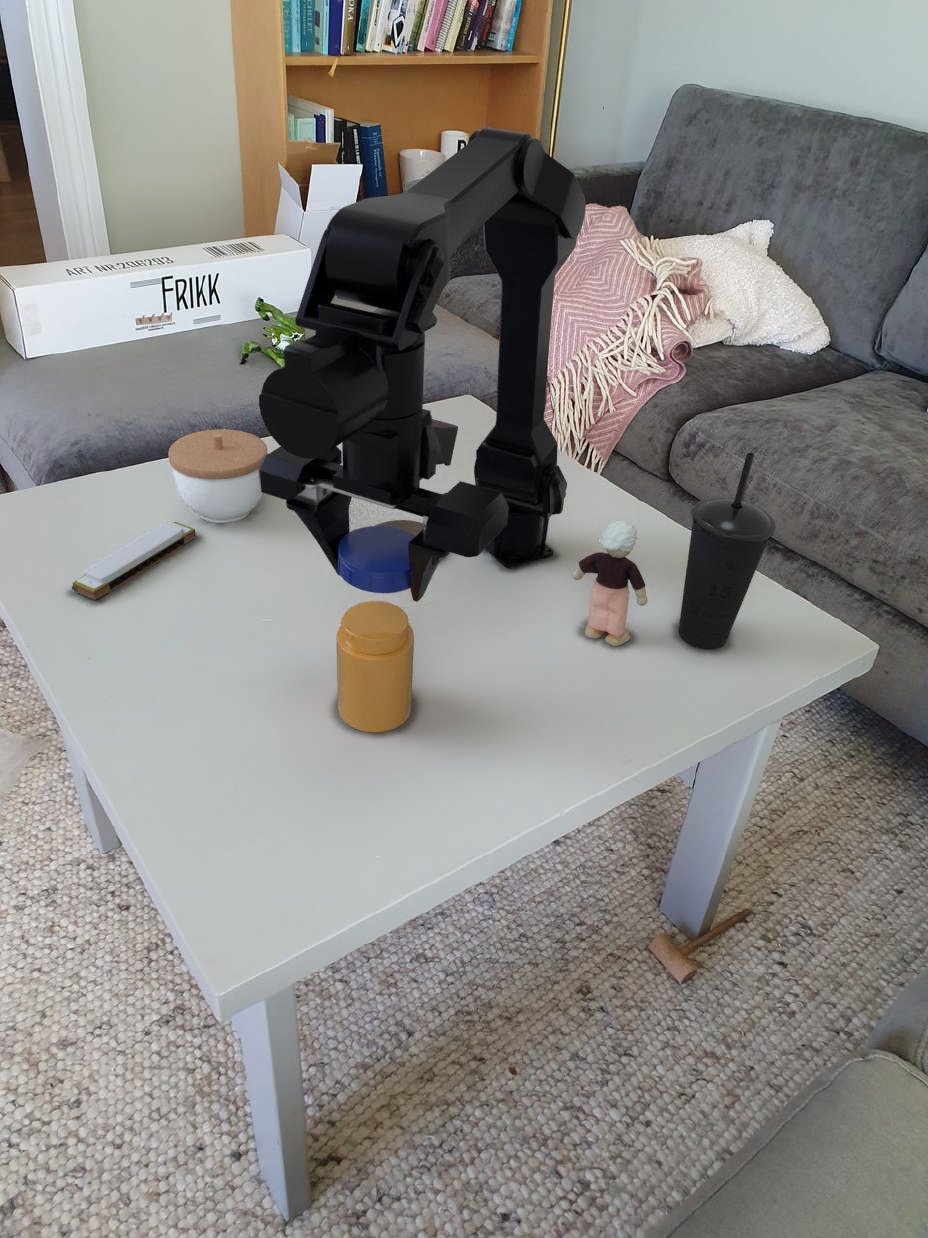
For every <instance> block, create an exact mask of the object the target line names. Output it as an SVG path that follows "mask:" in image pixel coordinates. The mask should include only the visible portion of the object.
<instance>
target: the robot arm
mask: <svg viewBox="0 0 928 1238" xmlns="http://www.w3.org/2000/svg"><path fill="white" fill-rule="evenodd" d="M586 203H587V202H586V197H585V194H584V192H583V190H582V187H581V185H580V183H579V181H578V178H577V177H576V175H575V174H574V173H573V172H572V171H571V170H570V169H568V168H567V167H566V166H564V165H563V164H562V163H560V162H559V161H558V160H556V159H555V158H553V157H552V156H551V155H550V154H548V153H547V152H546V151H545V148H544V147H543V145H542V143H541V140H540V139H539V138H537V137H533V135H531V133H529V132H523V131H516V130H509V129H502V128H496V127H495V128H494V127H488V126H486V127H483V128H482V129H476V130H473V132H472V133H471V134H470V136H469V139H468V141H467V144H466V145H464V146H463V147H462V148H460V149H459V150H458V151H457V152H455V153H454V154H452V155H451V156H450V157H449V158H447V160H445V161H444V162H442V163H441V164H440V165H438V166H437V167H436V168H435V169H433V170H432V171H431V172H430V173H428V174H427V175H426V176H424V177H423V178H422V179H420V180H419V181H418V182H417V183H415V184H414V185H413V186H412V187H410V188H409V189H408V190H407V191H404V192H401V193H399V194H393V195H385V196H384V195H383V196H377V197H376V196H373V197H366V198H364V199H361V200H358V201H356V202H353V203H350V204H349V205H345V206H343V207H341V208H340V209H338V211H337V212H336V213H335V214H334V215H333V216H332V217H331V218H330V220H329V221H328V224H327V226H326V228H325V229H324V232H323V233H322V236H321V239H320V242H319V245H318V247H317V251H316V253H315V258H314V261H313V263H312V266H311V269H310V272H309V276H308V279H307V282H306V285H305V288H304V291H303V294H302V298H301V300H300V304H299V306H298V309H297V313H296V316H295V320H294V321H295V325H296V327H298V328H303V329H306V330H311V331H315V334H314V335H312V336H310V337H308V338H305V339H303V340H295V341H293V342H291V343H289V344H287V345H285V346H284V349H283V360H284V361H283V365H282V366H281V367H278V368H276V369H274V370H273V371H272V372H271V373H270V374H269V375H268V376H267V377H266V379H265V381H263V384H262V389H261V391H260V394H259V395H258V408H259V411H260V417H261V419H262V421H263V424H264V426H265V428H266V430H267V431H268V433H269V435H270V436H271V437H272V439H273V440H274V441H275V442H276V443H277V444H278V446H279V447H277V448H275V449H274V450H272V451H271V452H269V453H268V455H266V456H265V457H264V458H263V459H262V461H261V464H260V466H259V469H258V470H259V483H260V489H261V492H262V493H264V494H265V495H269V496H271V497H275V498H278V499H281V500H284V501H285V506H286V508H287V509H288V510H290V511H293V512H294V513H295V514H296V515H297V516H298V517H299V519H300V521H301V522H302V523H303V524H304V526H305V528H307V530H308V532H310V534H311V535H312V537H313V539H314V540H315V541H316V542H317V544H318V545H319V547H320V549H321V550H322V552H323V553H324V555H325V557H326V558H327V560H328V561H329V563H330V565H331V566H332V568H333V570H334V572H335V573H336V575H337V576H339V577H341V575H340V574H339V573H338V545H339V542H340V540H341V539H342V538H343V537H344V536H345V535H346V534H348V533H349V532H351V531H350V530H351V529H350V505H351V501H352V498H354V499H357V500H361V501H363V502H367V503H371V504H374V505H377V506H380V507H383V508H386V509H390V510H399V511H401V512H405V513H408V514H412V515H415V516H417V517H418V516H419V517H422V523H423V524H424V526H423V530H422V531H420V532H419V533H418V534H417V535H416V536H415V537H414V538H413V539H412V540H411V541H410V542H409V543H408V553H409V573H410V588H409V589H410V595H411V598H412V601H413V602H416V603H418V602H419V601H420V600H421V599H422V598H423V597H424V595H425V593H426V591H427V588H428V586H429V584H430V582H431V580H432V577H433V576H434V574H435V572H436V570H437V568H438V565H439V563H440V561H441V559H442V558H445V557H447V556H448V555H449V554H450V553H451V554H455V555H458V556H461V557H463V558H474V557H479V555H481V554H482V552H483V551H486V552H488V554H489V555H491V556H492V557H493V558H494V559H495V560H496V561H497V562H499V563H500V564H501V565H502V566H503V567H504V568H506V569H511V568H515V567H519V566H522V565H525V564H529V563H532V562H536V561H539V560H542V559H546V558H549V557H553V556H554V553H555V551H554V549H553V548H551V547H550V546H549V545H548V544H547V537H548V530H549V521H550V518H551V517H552V516H555V515H561V514H562V513H563V511H564V504H565V499H566V497H567V492H566V491H567V488H568V481H567V479H566V478H565V475H564V474H563V472H562V470H561V467H560V466H559V465H558V442H557V439H556V438H555V436H554V434H553V431H551V428H550V427H549V426H548V424H547V422H546V420H545V406H546V394H547V383H548V369H549V358H550V344H551V331H552V319H553V305H554V294H555V282H556V275H557V274H558V272H559V271H560V270H561V268H563V265H564V264H565V263H566V261H567V259H569V258H570V256H571V255H572V253H573V251H574V250H575V248H576V246H577V240H578V236H579V235H580V233H581V230H582V227H583V224H584V220H585V216H586V207H587V206H586V205H587V204H586ZM482 226H483V244H484V251H485V253H486V255H487V256H488V259H489V260H490V262H491V264H492V266H493V268H494V269H495V271H496V273H497V275H498V277H499V279H500V281H501V282H500V283H501V284H500V285H501V289H500V291H501V292H500V308H499V309H500V311H499V312H500V313H499V338H498V359H497V361H498V362H497V363H498V364H497V386H496V387H497V389H496V410H495V411H496V413H495V415H496V417H495V425H494V426H493V427H492V429H491V430H490V431H489V433H488V434H487V435H486V436H485V438H484V439H483V441H482V442H481V443H480V444H479V446H478V447H477V449H476V451H475V457H476V458H475V461H474V465H473V475H474V484H472V483H469V482H466V481H462V480H460V481H458V482H457V483H456V484H455V485H454V486H453V487H452V488H450V489H449V490H448V491H447V492H443V493H440V492H436V491H433V490H429V489H425V488H422V487H420V485H421V481H422V480H423V479H424V480H427V481H429V480H430V479H432V477H433V476H435V475H436V473H437V466H438V465H444V466H445V467H449V466H451V464H452V459H453V455H454V449H455V445H456V441H457V435H458V430H459V426H458V425H455V424H453V423H450V422H445V421H441V420H438V419H435V418H433V416H432V413H431V412H432V411H431V410H430V409H425V408H423V407H424V406H423V404H424V403H423V402H424V380H425V379H424V377H425V348H426V332H427V331H429V330H431V329H432V328H435V327H436V325H437V324H438V323H437V322H438V318H437V316H436V315H435V314H434V310H435V308H436V305H437V303H438V301H439V298H440V296H441V294H442V292H443V291H444V289H445V288H446V287H447V285H448V284H449V283H450V282H451V257H452V255H453V254H454V252H455V251H456V250H457V249H458V248H459V247H460V246H461V245H462V244H463V243H464V242H465V241H466V240H467V239H469V238H470V237H471V236H472V235H473V234H474V233H476V231H478V230H479V229H480V228H481V227H482ZM335 297H336V298H337V299H338V300H341V301H346V302H351V303H355V304H360V305H363V306H367V307H368V306H369V307H373V308H376V309H375V310H373V311H367V310H364V309H359V308H355V307H351V306H346V305H342V304H337V303H334V302H332V301H333V300H334V298H335ZM341 444H342V446H341V449H340V448H339V447H338V446H339V445H341Z"/></svg>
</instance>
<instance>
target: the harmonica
mask: <svg viewBox="0 0 928 1238" xmlns="http://www.w3.org/2000/svg"><path fill="white" fill-rule="evenodd" d="M196 537H197V533H196V528H195V527H194V528H193V527H191V526H188V525H186V524H183V523H181V522H177V521H174V522H172V523H169V522H164V523H161V524H159V525H157V526H156V527H154V528H152V529H150V530H149V531H147V532H145V533H143V534H142V535H140V536H138V537H136V538H134V539H133V540H132V541H130V542H128V543H126V544H125V545H123V546H121V547H120V548H117V549H116V550H114V551H113V552H110V554H108V555H106V556H105V557H103V558H101V559H99V560H98V561H95V562H94V563H93V564H91V565H89V566H88V567H87V568H85V569H84V571H83V573H84V575H83V576H81V577H79V578H77V579H76V580H74V582H72V585H71V589H72V590H73V591H74V592H76V593H78V594H80V595H82V596H85V597H88V598H89V599H91V600H97V599H99V598H100V597H103V596H104V595H105V594H107V593H108V594H110V593H112V592H113V591H115V590H117V589H118V588H120V587H122V586H123V585H125V584H127V583H129V582H130V581H132V580H133V579H134V578H136V577H138V576H139V575H141V574H142V573H144V572H145V571H147V570H149V569H150V568H152V567H154V566H155V565H157V564H158V563H160V562H161V561H163V560H164V559H166V558H168V557H170V556H171V555H173V554H174V553H175V552H178V551H179V550H180V549H182V548H184V547H185V544H187V543H189V542H190V541H192V540H193V539H195V538H196Z"/></svg>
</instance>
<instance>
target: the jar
mask: <svg viewBox="0 0 928 1238" xmlns="http://www.w3.org/2000/svg"><path fill="white" fill-rule="evenodd" d="M340 619H341V620H340V626H339V627H338V629H337V631H336V639H335V640H336V669H337V670H336V672H337V673H336V675H337V676H336V678H337V680H336V681H337V710H338V714H339V717H340V718H341V719H342V720H343V722H344V723H345V724H346V725H347V726H349V727H350V728H353V729H355V730H357V731H361V732H365V733H384V732H388V731H392V730H394V729H397V728H398V727H400V726H401V725H403V724H404V723H405V722H406V721H407V720H408V719H409V717H410V715H411V712H412V703H413V702H412V701H413V677H414V676H413V674H414V651H415V650H414V649H415V633H414V630H413V628H412V626H410V623H409V616H408V614H407V613H406V612H405V611H404V609H403V608H401V607H400V606H398V605H396V604H393V603H391V602H387V601H380V600H370V601H364V602H360V603H357V604H354V605H352V606H351V607H349V608H347V610H345V612H344V614H343V616H342V617H341V618H340Z"/></svg>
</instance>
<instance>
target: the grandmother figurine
mask: <svg viewBox="0 0 928 1238" xmlns="http://www.w3.org/2000/svg"><path fill="white" fill-rule="evenodd" d="M637 534H638V531H637V528H636V527H635V525H634V524H633V523H631V522H628V521H627V520H616V521H613V522H612V523H610V524H609V525H608V526H607V527H606V528H605V529H604V530H603V531H602V533H601V537H600V539H598V542H599V543H600V546H601V547H602V549H604V550H606V552H603V551H602V552H595V553H592V554H589V555H587V556H585V557H584V558H583V559H581V560H579V561H578V565H577V567H576V568H575V569H574V571H572V574H571V575H572V578H573V579H574V580H575V581H580V580H582V579H583V577H584V576H585V575H586V574H595V575H596V577H595V578H594V582H593V585H592V589H591V593H590V597H589V598H590V599H589V602H588V603H589V604H588V615H587V624H586V627H585V629H584V635H585V637H587V638H590V639H595V640H597V639H600V638H601V637H602V636H603V635H604V634H605V632H606V633H608V634H607V635H606V637H604V638H605V640H604V641H605V642H606V643H607V644H608V645H610V646H613V647H617V646H618V647H619V646H620V645H623V644H624V643H626V642H628V641H630V639H631V635H630V632H629V631H628V630H627V629H626V624H627V615H628V607H629V600H630V589H629V583H630V586H631V587H632V589H633V591H634V595H635V597H636V603H637V605H638V606H641V607H642V606H646V605H647V604H648V597H647V596H646V595H647V589H646V582H645V580H644V578H643V575H642V573H641V571H640V569H639V568H638V565H637V564H636V563H635V562H634V561H632V560H631V559H629V558H628V557H627V556H629V555H630V554H631V553H632V552H633V549H634V546H635V545H636V541H637V540H638V535H637Z"/></svg>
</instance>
